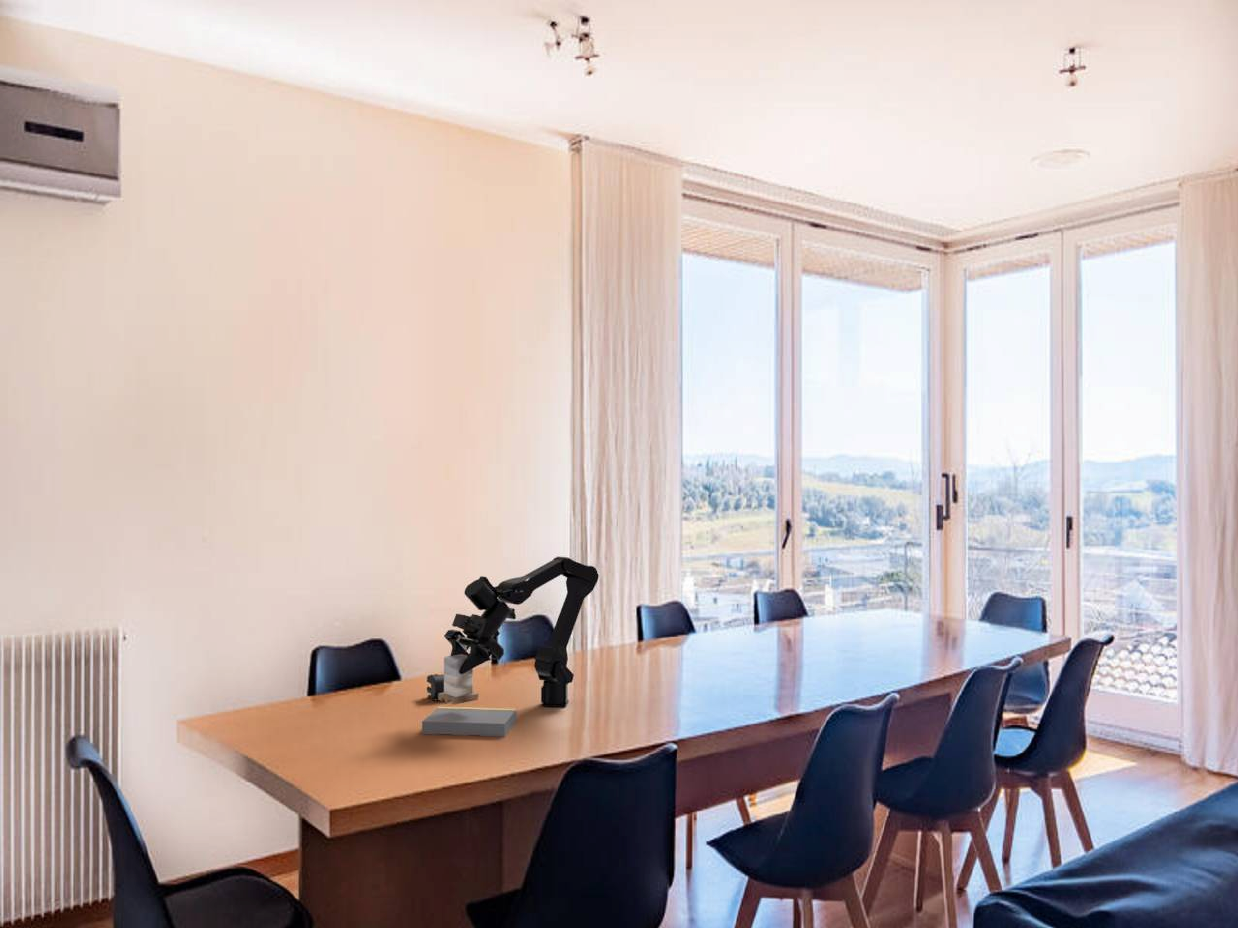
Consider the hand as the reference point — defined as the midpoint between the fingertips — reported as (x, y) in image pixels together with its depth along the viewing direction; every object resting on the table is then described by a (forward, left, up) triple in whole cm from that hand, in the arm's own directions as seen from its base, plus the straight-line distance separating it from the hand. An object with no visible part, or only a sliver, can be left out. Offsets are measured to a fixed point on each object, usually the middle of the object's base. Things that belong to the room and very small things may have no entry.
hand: (453, 671), depth 229 cm
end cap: (+10, -29, -14) cm, 34 cm away
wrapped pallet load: (-1, -1, -7) cm, 7 cm away
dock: (-4, 0, -13) cm, 14 cm away
